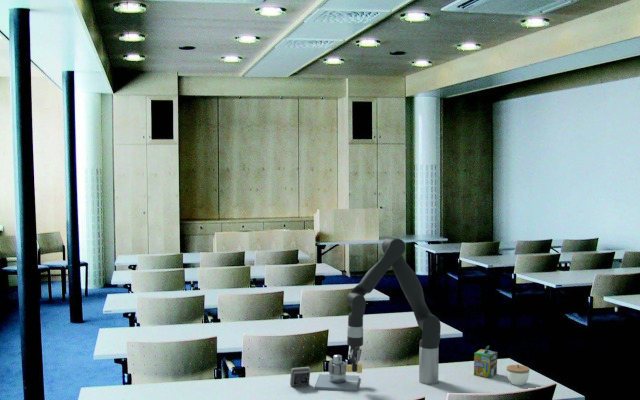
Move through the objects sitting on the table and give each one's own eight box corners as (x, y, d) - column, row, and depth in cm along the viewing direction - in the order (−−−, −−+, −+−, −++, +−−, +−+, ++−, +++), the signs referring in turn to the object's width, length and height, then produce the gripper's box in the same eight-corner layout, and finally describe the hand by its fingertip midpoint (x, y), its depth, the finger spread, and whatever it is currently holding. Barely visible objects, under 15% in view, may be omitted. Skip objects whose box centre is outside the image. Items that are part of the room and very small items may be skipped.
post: (346, 378, 351) (346, 353, 350) (345, 383, 343) (345, 358, 342) (330, 378, 351) (330, 353, 351) (328, 383, 344) (328, 357, 343)
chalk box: (480, 370, 369) (480, 342, 368) (497, 374, 364) (497, 345, 363) (473, 375, 361) (473, 346, 361) (490, 378, 356) (490, 349, 355)
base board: (359, 378, 356) (359, 359, 355) (356, 391, 336) (356, 371, 336) (319, 376, 358) (319, 357, 358) (314, 389, 338) (314, 369, 338)
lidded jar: (533, 384, 346) (534, 365, 346) (517, 388, 341) (518, 369, 340) (517, 378, 355) (517, 360, 355) (501, 382, 350) (501, 363, 349)
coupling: (362, 369, 350) (362, 361, 349) (361, 374, 341) (361, 366, 341) (329, 368, 351) (329, 360, 351) (328, 373, 343) (328, 365, 343)
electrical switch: (308, 383, 347) (308, 365, 346) (311, 387, 342) (311, 369, 341) (289, 385, 344) (290, 367, 343) (292, 389, 339) (292, 371, 338)
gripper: (358, 339, 330) (357, 376, 331) (367, 332, 342) (366, 368, 343) (343, 337, 333) (342, 374, 334) (352, 331, 345) (351, 366, 346)
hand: (354, 371), depth 339 cm, fingers closed
